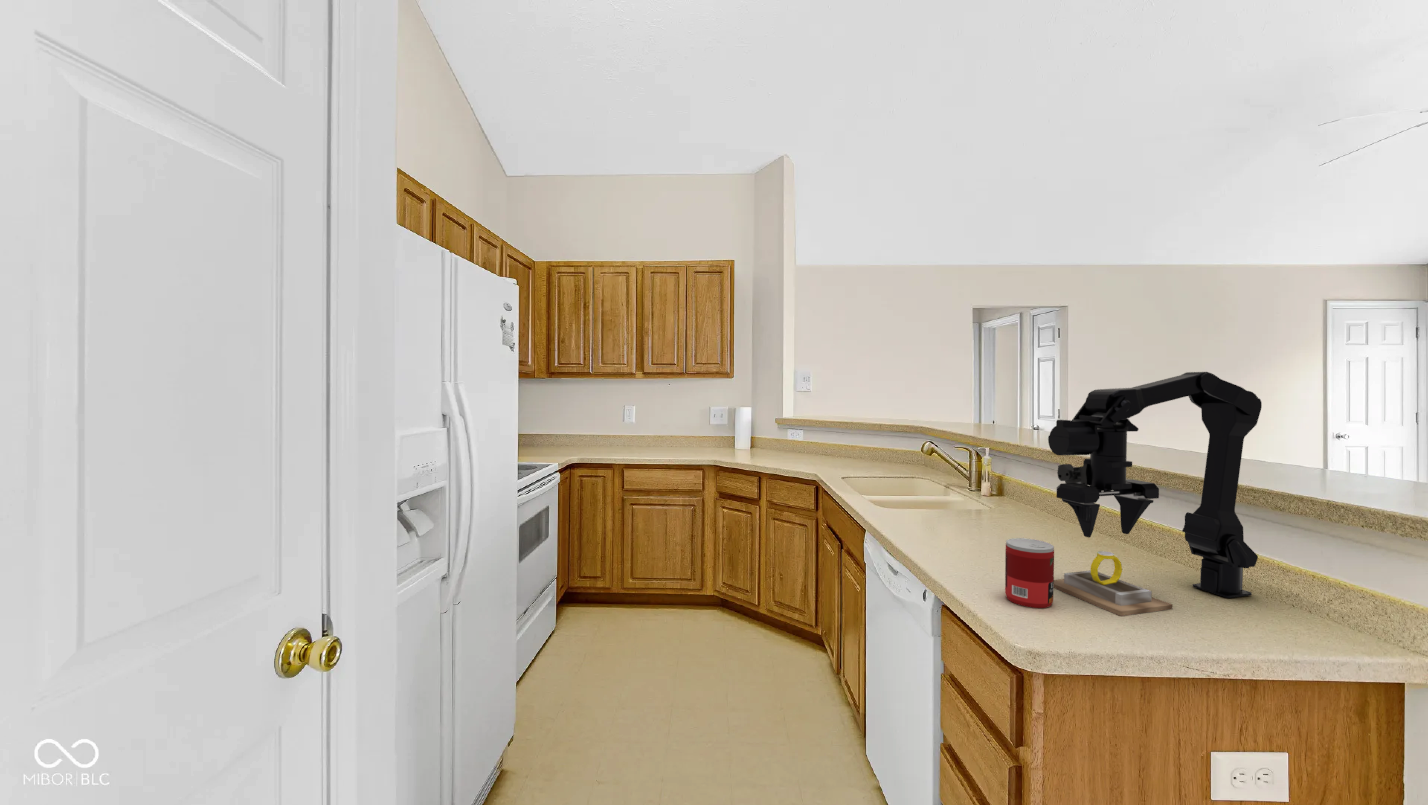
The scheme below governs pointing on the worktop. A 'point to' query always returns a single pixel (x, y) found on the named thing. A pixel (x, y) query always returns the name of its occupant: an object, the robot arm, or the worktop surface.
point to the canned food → (1029, 572)
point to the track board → (1110, 594)
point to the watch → (1096, 562)
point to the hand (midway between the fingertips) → (1106, 535)
